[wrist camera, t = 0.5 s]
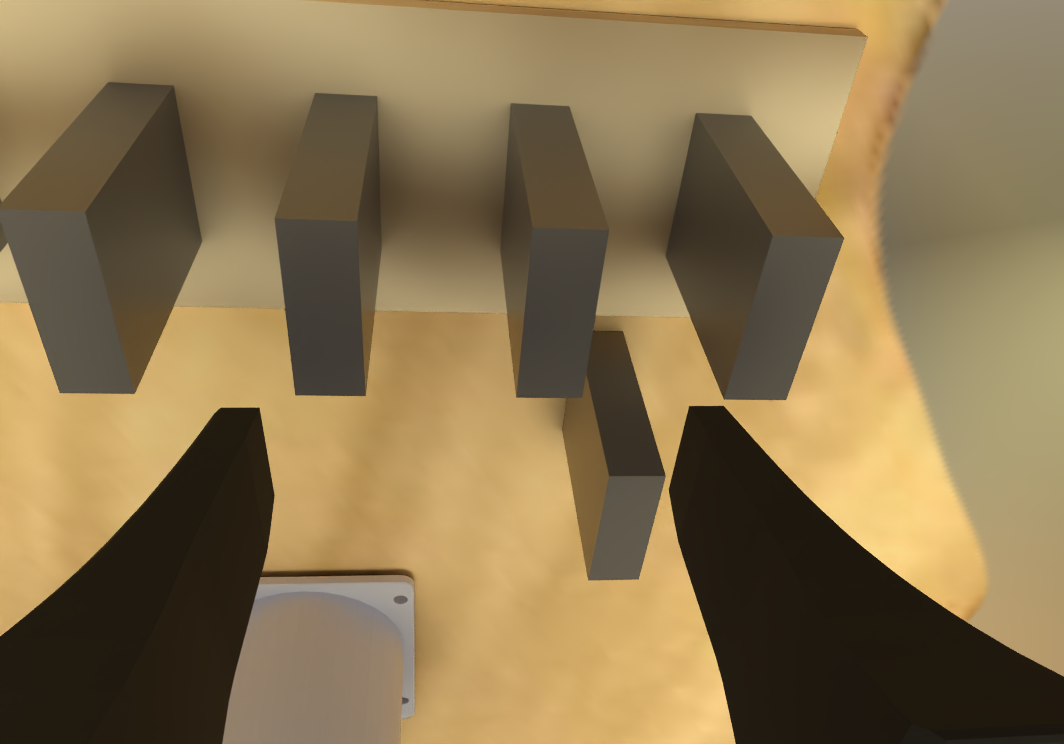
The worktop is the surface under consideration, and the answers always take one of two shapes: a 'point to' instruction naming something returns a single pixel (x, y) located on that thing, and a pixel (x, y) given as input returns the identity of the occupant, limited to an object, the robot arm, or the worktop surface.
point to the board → (421, 122)
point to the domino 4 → (612, 462)
